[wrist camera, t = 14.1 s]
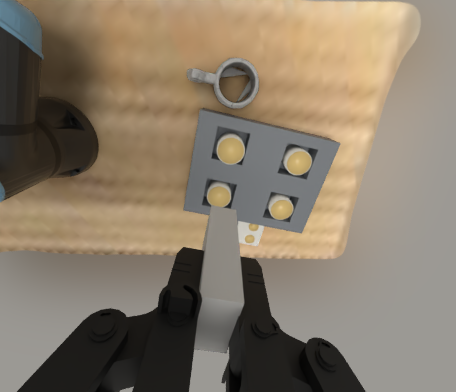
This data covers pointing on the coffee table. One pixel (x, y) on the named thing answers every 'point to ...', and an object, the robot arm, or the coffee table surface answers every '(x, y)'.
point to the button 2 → (230, 148)
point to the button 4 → (296, 160)
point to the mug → (227, 71)
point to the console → (257, 169)
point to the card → (249, 233)
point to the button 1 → (219, 193)
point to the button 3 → (279, 206)
